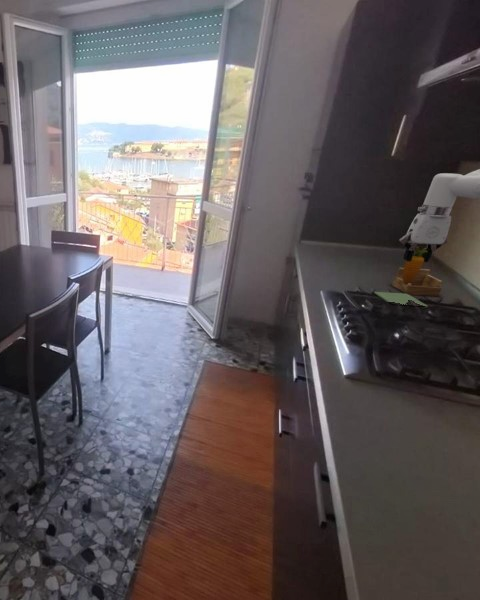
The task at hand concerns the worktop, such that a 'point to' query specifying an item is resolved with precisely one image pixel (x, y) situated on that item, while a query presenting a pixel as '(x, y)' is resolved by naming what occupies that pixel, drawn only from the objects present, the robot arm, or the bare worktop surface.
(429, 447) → the worktop surface
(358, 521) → the worktop surface
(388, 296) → the mat
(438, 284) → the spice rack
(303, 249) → the worktop surface
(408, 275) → the carrot
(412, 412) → the worktop surface
